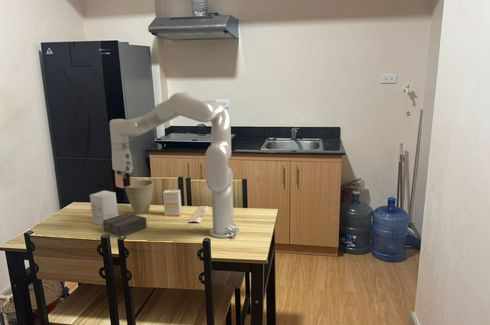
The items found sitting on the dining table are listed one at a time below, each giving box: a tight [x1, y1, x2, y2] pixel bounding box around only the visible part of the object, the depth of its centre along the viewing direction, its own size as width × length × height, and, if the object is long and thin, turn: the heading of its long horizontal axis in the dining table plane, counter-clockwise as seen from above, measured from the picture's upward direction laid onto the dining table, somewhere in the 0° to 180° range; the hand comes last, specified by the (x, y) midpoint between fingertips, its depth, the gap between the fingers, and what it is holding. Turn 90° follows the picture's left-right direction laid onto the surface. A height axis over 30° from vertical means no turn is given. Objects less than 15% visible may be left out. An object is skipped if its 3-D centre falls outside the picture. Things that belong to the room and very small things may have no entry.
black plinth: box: [103, 211, 147, 237], centre depth 177 cm, size 14×14×5 cm
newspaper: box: [187, 205, 210, 224], centre depth 195 cm, size 24×7×2 cm, turn 174°
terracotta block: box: [114, 172, 132, 189], centre depth 173 cm, size 5×5×6 cm
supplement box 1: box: [89, 190, 119, 227], centre depth 187 cm, size 9×9×15 cm
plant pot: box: [124, 179, 154, 215], centre depth 200 cm, size 15×15×16 cm
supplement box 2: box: [162, 189, 183, 217], centre depth 195 cm, size 8×5×13 cm, turn 84°
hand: (123, 184), depth 174 cm, fingers closed on terracotta block, 5 cm apart
